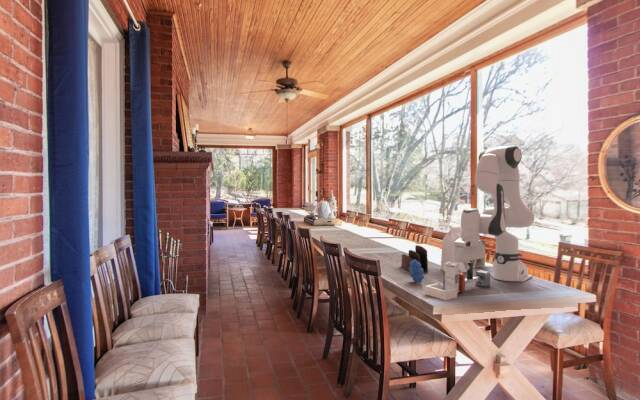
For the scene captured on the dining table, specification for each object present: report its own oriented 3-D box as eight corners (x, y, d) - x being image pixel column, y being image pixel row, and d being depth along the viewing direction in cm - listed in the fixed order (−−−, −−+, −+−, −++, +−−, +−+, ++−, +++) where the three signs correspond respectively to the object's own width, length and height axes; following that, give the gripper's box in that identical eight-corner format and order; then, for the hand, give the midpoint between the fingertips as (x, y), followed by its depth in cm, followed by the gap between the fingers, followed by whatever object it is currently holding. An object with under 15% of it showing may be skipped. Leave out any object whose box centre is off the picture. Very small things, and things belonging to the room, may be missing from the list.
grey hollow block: (480, 283, 213) (480, 270, 212) (490, 285, 208) (490, 272, 208) (475, 284, 210) (475, 271, 210) (484, 287, 206) (485, 273, 205)
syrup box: (447, 290, 199) (447, 261, 198) (459, 292, 195) (459, 262, 195) (442, 293, 195) (443, 263, 194) (454, 295, 191) (455, 264, 190)
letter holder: (416, 266, 257) (416, 243, 257) (428, 273, 238) (428, 249, 237) (401, 266, 256) (401, 244, 256) (411, 273, 237) (411, 249, 236)
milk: (457, 267, 251) (457, 225, 249) (469, 271, 240) (470, 227, 239) (440, 269, 247) (440, 226, 246) (452, 273, 236) (452, 228, 235)
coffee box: (467, 266, 255) (468, 240, 254) (470, 264, 260) (470, 239, 260) (483, 267, 250) (483, 241, 249) (485, 265, 255) (485, 240, 255)
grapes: (403, 280, 220) (403, 258, 219) (413, 279, 222) (413, 257, 221) (415, 285, 209) (415, 262, 208) (426, 284, 211) (426, 261, 211)
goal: (436, 291, 198) (436, 283, 198) (457, 297, 188) (457, 288, 188) (425, 294, 194) (425, 285, 193) (445, 300, 184) (445, 291, 183)
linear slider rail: (480, 281, 214) (480, 258, 213) (492, 284, 208) (493, 260, 207) (450, 289, 200) (450, 264, 199) (462, 292, 194) (462, 266, 194)
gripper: (477, 238, 210) (476, 265, 211) (451, 242, 199) (451, 270, 200) (488, 240, 205) (487, 267, 206) (462, 243, 194) (462, 272, 194)
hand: (469, 269), depth 203 cm, fingers closed on linear slider rail, 3 cm apart
